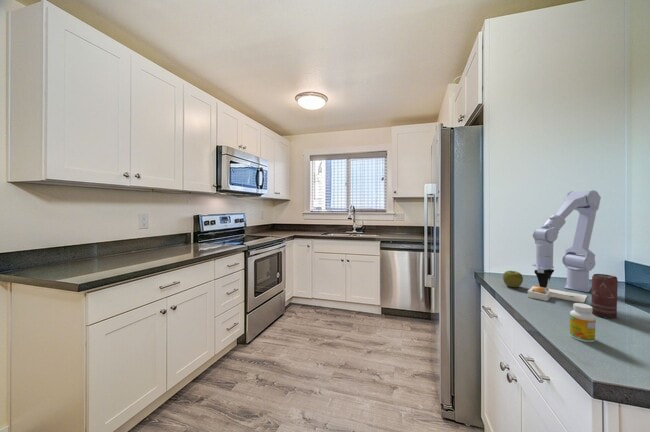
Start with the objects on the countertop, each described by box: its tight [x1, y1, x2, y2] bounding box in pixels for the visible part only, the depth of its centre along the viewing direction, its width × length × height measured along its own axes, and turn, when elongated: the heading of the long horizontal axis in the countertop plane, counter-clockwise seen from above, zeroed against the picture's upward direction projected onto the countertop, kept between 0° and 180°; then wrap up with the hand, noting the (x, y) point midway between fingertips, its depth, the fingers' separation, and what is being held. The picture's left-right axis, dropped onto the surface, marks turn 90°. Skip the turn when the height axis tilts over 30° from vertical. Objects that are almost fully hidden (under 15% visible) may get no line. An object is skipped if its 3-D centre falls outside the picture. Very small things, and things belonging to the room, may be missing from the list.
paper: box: [526, 285, 588, 304], centre depth 113 cm, size 11×18×1 cm, turn 40°
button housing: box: [527, 287, 552, 302], centre depth 110 cm, size 6×6×2 cm
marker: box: [538, 279, 550, 291], centre depth 116 cm, size 3×3×8 cm
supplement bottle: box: [569, 302, 597, 343], centre depth 77 cm, size 5×5×10 cm
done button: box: [533, 285, 545, 294], centre depth 110 cm, size 4×4×2 cm
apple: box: [502, 270, 524, 288], centre depth 124 cm, size 8×8×7 cm
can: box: [590, 273, 619, 320], centre depth 91 cm, size 6×6×14 cm
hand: (544, 286), depth 116 cm, fingers closed on marker, 3 cm apart
